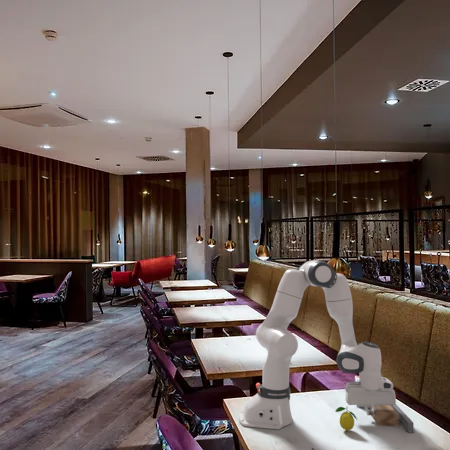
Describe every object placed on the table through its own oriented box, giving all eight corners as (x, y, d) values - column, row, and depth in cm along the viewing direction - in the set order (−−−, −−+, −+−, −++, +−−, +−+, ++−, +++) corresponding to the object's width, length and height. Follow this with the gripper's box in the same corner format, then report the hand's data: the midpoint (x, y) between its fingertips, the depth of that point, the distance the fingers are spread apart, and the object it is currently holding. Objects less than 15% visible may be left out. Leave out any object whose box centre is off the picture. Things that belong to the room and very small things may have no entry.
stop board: (408, 432, 174) (408, 422, 174) (388, 409, 196) (388, 400, 196) (413, 432, 174) (413, 422, 174) (392, 409, 196) (392, 400, 196)
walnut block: (378, 426, 180) (378, 414, 180) (370, 416, 190) (371, 404, 190) (398, 426, 180) (398, 414, 180) (389, 416, 190) (389, 404, 190)
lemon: (335, 428, 178) (335, 403, 178) (347, 426, 180) (347, 401, 180) (345, 436, 171) (345, 410, 171) (357, 433, 173) (357, 408, 173)
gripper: (347, 384, 182) (347, 418, 182) (397, 384, 182) (397, 418, 182) (343, 379, 189) (343, 411, 189) (391, 379, 188) (391, 411, 188)
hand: (370, 414), depth 185 cm, fingers closed
